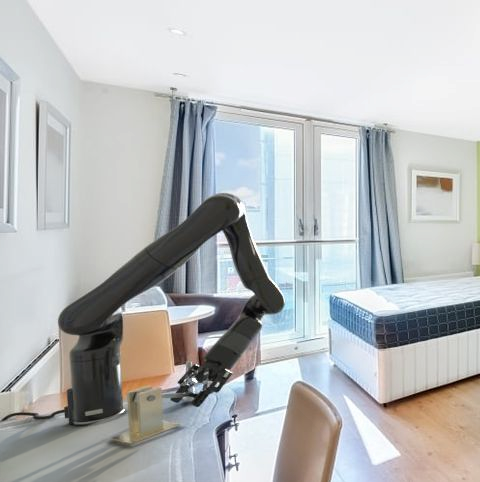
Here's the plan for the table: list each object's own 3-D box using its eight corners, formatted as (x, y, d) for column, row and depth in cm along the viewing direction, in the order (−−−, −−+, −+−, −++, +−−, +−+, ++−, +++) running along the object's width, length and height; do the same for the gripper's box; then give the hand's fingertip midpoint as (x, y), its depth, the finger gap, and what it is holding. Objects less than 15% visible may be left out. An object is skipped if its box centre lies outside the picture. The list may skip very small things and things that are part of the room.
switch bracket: (161, 424, 114) (159, 381, 114) (181, 428, 112) (178, 384, 111) (110, 442, 105) (107, 395, 104) (130, 448, 102) (127, 399, 102)
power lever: (185, 397, 118) (188, 388, 118) (197, 400, 116) (199, 390, 117) (129, 401, 107) (133, 391, 107) (142, 403, 105) (145, 393, 106)
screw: (199, 398, 131) (203, 402, 128) (178, 404, 127) (181, 408, 124) (197, 357, 130) (201, 360, 127) (175, 361, 126) (179, 364, 123)
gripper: (201, 341, 125) (154, 394, 115) (234, 345, 121) (188, 401, 111) (222, 353, 131) (179, 406, 120) (255, 358, 126) (213, 412, 116)
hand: (183, 403), depth 115 cm, fingers open, 8 cm apart
